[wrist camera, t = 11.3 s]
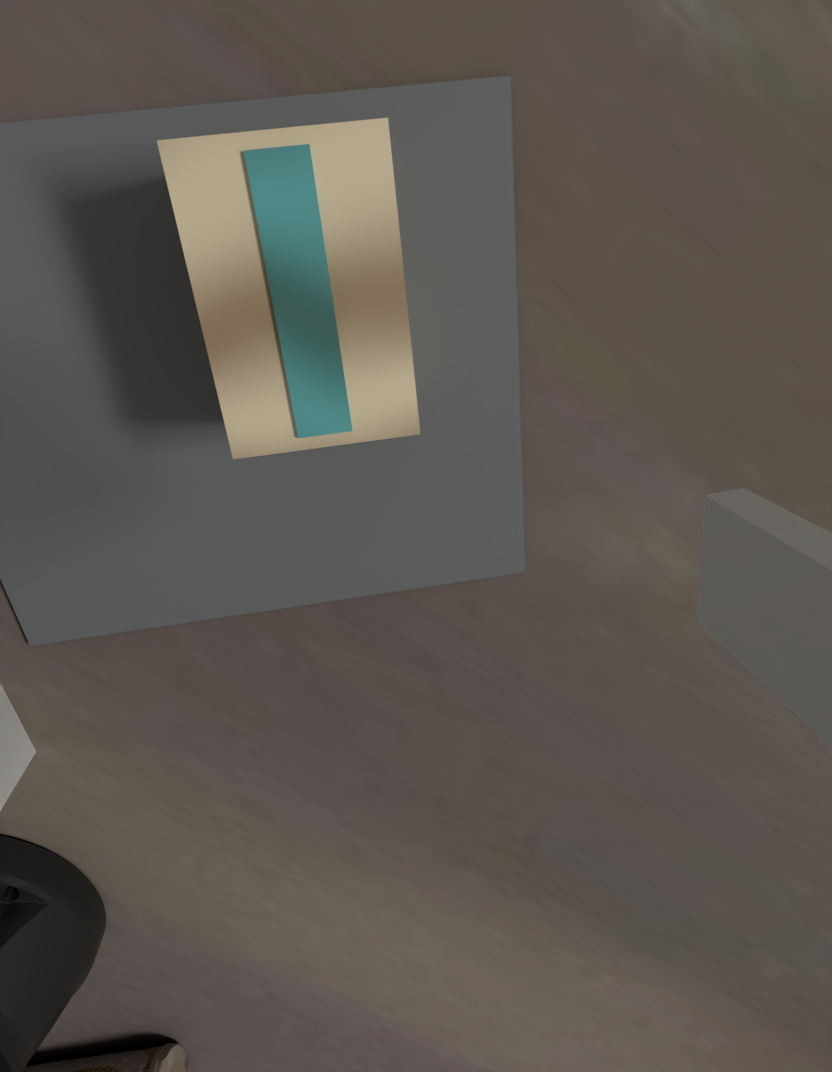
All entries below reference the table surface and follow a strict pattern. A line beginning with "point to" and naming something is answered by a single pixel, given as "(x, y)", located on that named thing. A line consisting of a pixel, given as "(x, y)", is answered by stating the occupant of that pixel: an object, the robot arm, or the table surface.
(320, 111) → the rubber mat
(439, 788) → the table surface
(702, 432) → the table surface
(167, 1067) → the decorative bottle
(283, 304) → the maple block
